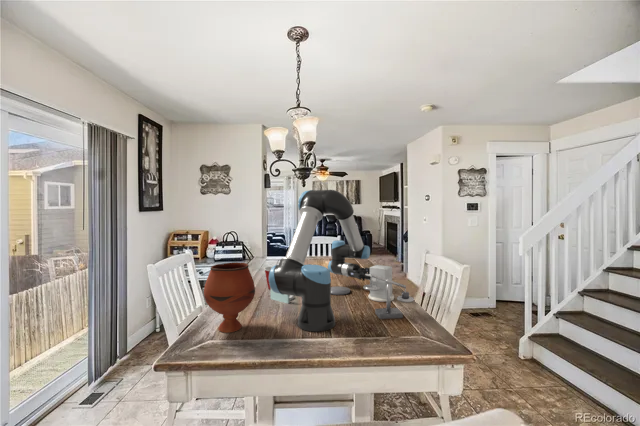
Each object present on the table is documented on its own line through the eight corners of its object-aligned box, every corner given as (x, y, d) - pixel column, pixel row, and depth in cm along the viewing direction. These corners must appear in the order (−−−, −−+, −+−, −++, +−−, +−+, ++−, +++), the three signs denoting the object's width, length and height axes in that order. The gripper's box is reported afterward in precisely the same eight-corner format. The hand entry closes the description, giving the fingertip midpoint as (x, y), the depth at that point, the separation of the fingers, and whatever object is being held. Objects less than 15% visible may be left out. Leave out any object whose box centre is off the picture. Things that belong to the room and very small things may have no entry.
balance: (365, 319, 129) (365, 276, 128) (361, 313, 136) (361, 272, 135) (416, 317, 131) (416, 274, 130) (409, 311, 138) (409, 271, 137)
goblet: (260, 319, 130) (259, 260, 129) (248, 339, 111) (247, 270, 110) (215, 318, 131) (214, 260, 130) (196, 338, 111) (194, 270, 111)
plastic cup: (281, 291, 171) (281, 270, 171) (262, 291, 171) (262, 270, 171) (284, 286, 182) (284, 266, 182) (266, 286, 182) (265, 266, 182)
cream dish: (372, 302, 150) (372, 300, 150) (365, 295, 163) (365, 292, 163) (397, 301, 152) (397, 299, 152) (389, 294, 165) (389, 291, 164)
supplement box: (392, 295, 159) (392, 266, 158) (386, 299, 151) (385, 269, 151) (376, 292, 164) (376, 264, 163) (369, 296, 156) (369, 267, 156)
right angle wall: (287, 304, 150) (287, 289, 150) (270, 300, 158) (270, 285, 157) (303, 298, 160) (303, 284, 160) (286, 294, 167) (286, 281, 167)
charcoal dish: (328, 295, 162) (328, 293, 162) (325, 289, 175) (325, 286, 175) (352, 294, 164) (352, 292, 164) (347, 288, 176) (347, 286, 176)
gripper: (364, 273, 180) (396, 279, 165) (336, 280, 162) (369, 288, 147) (364, 260, 180) (396, 265, 165) (336, 266, 162) (369, 273, 147)
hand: (384, 276), depth 156 cm, fingers open, 13 cm apart
